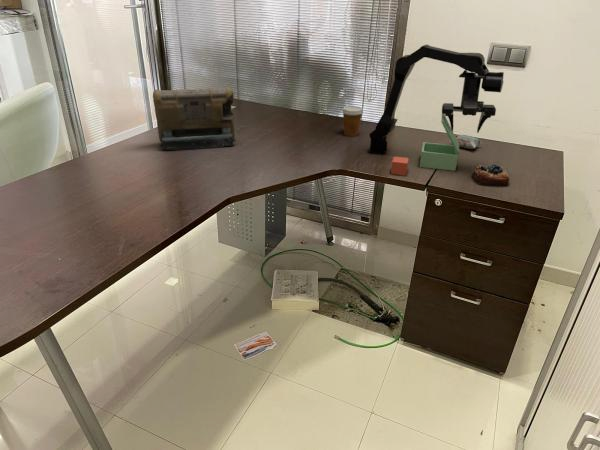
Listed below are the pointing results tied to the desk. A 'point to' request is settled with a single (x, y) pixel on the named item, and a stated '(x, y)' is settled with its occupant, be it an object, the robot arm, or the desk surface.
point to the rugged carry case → (194, 118)
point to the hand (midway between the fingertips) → (464, 131)
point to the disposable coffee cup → (352, 120)
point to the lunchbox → (438, 156)
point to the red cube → (399, 166)
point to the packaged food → (468, 141)
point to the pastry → (490, 175)
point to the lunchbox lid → (450, 133)
